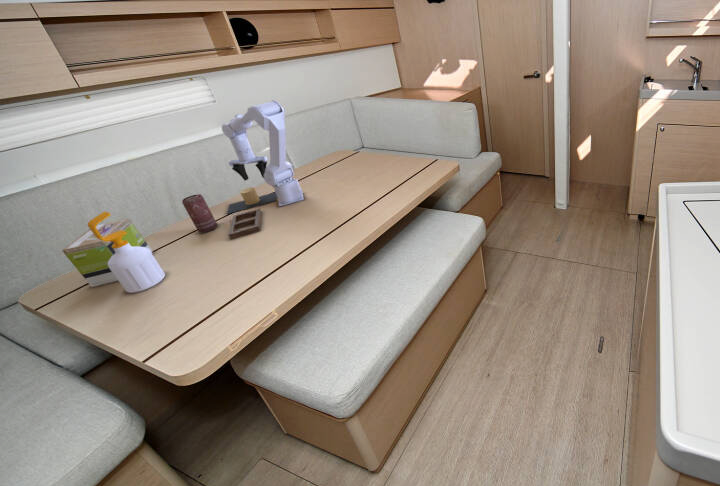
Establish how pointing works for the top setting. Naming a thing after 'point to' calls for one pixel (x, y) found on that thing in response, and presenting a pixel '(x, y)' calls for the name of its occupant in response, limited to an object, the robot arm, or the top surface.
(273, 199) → the mat
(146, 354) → the top surface
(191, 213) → the can
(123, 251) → the soap bottle
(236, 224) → the holder
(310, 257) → the top surface
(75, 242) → the tea box
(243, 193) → the yellow wooden cylinder
